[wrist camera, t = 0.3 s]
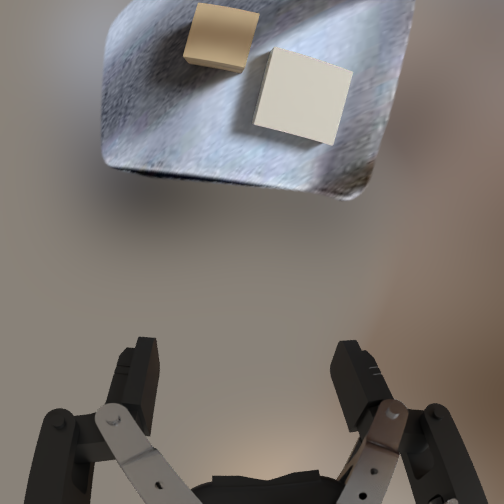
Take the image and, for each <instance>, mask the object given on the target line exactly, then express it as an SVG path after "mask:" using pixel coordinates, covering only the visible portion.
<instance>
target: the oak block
mask: <svg viewBox="0 0 504 504" xmlns="http://www.w3.org/2000/svg"><path fill="white" fill-rule="evenodd" d="M259 15H260V14H258V13H254V12H249V11H245V10H240V9H235V8H229V7H224V6H218V5H211V4H205V3H198V5H197V8H196V12H195V15H194V18H193V22H192V25H191V29H190V32H189V36H188V39H187V43H186V46H185V50H184V54H183V57H184V58H185V60H186V61H187V62H188V63H189V64H193V65H200V66H206V67H211V68H217V69H222V70H227V71H232V72H237V73H242V72H243V70H244V68H245V65H246V61H247V58H248V54H249V50H250V47H251V43H252V39H253V36H254V32H255V29H256V25H257V22H258V18H259Z"/></svg>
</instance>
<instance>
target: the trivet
mask: <svg viewBox="0 0 504 504" xmlns="http://www.w3.org/2000/svg"><path fill="white" fill-rule="evenodd" d="M352 74H353V72H352V71H349V70H346V69H344V68H341V67H338V66H335V65H333V64H330V63H327V62H324V61H321V60H318V59H315V58H312V57H309V56H305V55H302V54H299V53H295V52H292V51H288V50H285V49H281V48H278V47H274V48H273V49H272V50H271V51H270V54H269V58H268V62H267V65H266V69H265V73H264V77H263V81H262V84H261V88H260V92H259V96H258V100H257V104H256V108H255V112H254V116H253V120H252V124H254V125H258V126H262V127H266V128H270V129H274V130H278V131H282V132H286V133H290V134H294V135H297V136H301V137H305V138H308V139H312V140H315V141H319V142H322V143H325V144H329V145H332V146H333V143H334V140H335V136H336V133H337V129H338V126H339V122H340V119H341V115H342V112H343V108H344V104H345V101H346V97H347V93H348V89H349V86H350V82H351V78H352Z"/></svg>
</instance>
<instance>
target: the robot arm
mask: <svg viewBox="0 0 504 504" xmlns="http://www.w3.org/2000/svg"><path fill="white" fill-rule="evenodd" d="M159 372H160V362H159V355H158V348H157V341H156V338H148V337H138V340H137V343H136V347H135V348H126V349H125V350H124V351H123V352H122V353H121V355H120V356H119V359H118V362H117V367H116V369H115V372H114V373H115V374H114V376H113V379H112V382H111V386H110V389H109V393H108V397H107V400H106V403H105V405H103V406H102V407H100V408H99V409H98V410H97V412H95V413H92V414H87V415H80V416H73V414H72V413H71V412H70V411H68V410H66V409H61V408H59V409H54V410H52V411H50V412H48V414H47V415H46V416H45V418H44V420H43V423H42V427H41V430H40V434H39V438H38V441H37V446H36V449H35V453H34V457H33V462H32V466H31V470H30V474H29V479H28V484H27V489H26V494H25V500H24V504H90V499H91V489H92V480H93V472H94V465H95V462H99V461H107V460H115V459H116V460H117V462H118V464H119V465H120V467H121V468H122V470H123V472H124V473H125V475H126V476H127V478H128V479H129V481H130V482H131V484H132V485H133V487H134V488H135V489H136V491H137V492H138V494H139V495H140V497H141V498H142V499H143V501H144V502H145V504H381V503H382V501H383V498H384V495H385V493H386V491H387V488H388V486H389V483H390V480H391V478H392V475H393V473H394V470H395V467H396V464H397V462H398V458H399V455H400V454H401V457H402V460H403V463H404V466H405V469H406V472H407V476H408V479H409V482H410V485H411V489H412V492H413V496H414V499H415V502H416V504H488V502H487V499H486V496H485V494H484V491H483V488H482V486H481V483H480V481H479V478H478V476H477V473H476V471H475V468H474V466H473V463H472V461H471V459H470V456H469V454H468V452H467V450H466V447H465V445H464V443H463V440H462V438H461V436H460V434H459V432H458V429H457V427H456V425H455V423H454V421H453V419H452V417H451V415H450V412H449V411H448V410H447V408H445V407H444V406H443V405H440V404H437V403H433V404H430V405H428V406H427V407H426V409H425V410H424V411H423V410H411V409H407V407H406V406H405V405H404V404H403V403H402V402H400V401H398V400H395V399H394V398H393V396H392V394H391V392H390V390H389V388H388V386H387V384H386V382H385V380H384V378H383V376H382V375H381V371H380V369H379V368H378V365H377V363H376V361H375V359H374V358H373V357H372V356H371V355H370V354H369V353H368V352H367V351H366V350H364V351H362V350H361V348H360V346H359V344H358V342H357V341H356V340H347V341H340V342H339V343H338V345H337V348H336V351H335V354H334V356H333V360H332V362H331V366H330V374H331V378H332V381H333V384H334V387H335V390H336V393H337V395H338V399H339V402H340V405H341V408H342V410H343V414H344V417H345V419H346V423H347V425H348V429H349V432H356V431H358V432H359V434H360V437H359V438H358V440H357V442H356V444H355V446H354V448H353V451H352V452H351V454H350V456H349V458H348V460H347V462H346V464H345V466H344V468H343V470H342V471H341V473H340V475H339V476H338V478H337V479H336V480H335V479H333V478H329V477H325V476H320V474H319V470H312V471H304V472H295V473H291V474H288V475H285V476H282V477H279V478H275V479H272V480H259V479H253V478H248V477H243V476H212V482H207V483H204V484H201V485H198V486H196V487H194V488H192V489H191V490H190V489H189V488H188V486H187V485H186V484H185V483H184V482H183V481H182V479H181V478H180V477H179V476H178V475H177V473H176V472H175V471H174V470H173V469H172V467H171V466H170V464H169V463H168V462H167V461H166V460H165V458H164V457H163V455H162V454H161V453H160V452H159V451H158V450H157V449H156V448H154V447H152V445H151V443H150V442H149V441H148V439H147V438H146V436H150V434H151V426H152V419H153V412H154V406H155V399H156V393H157V386H158V380H159Z"/></svg>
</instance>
